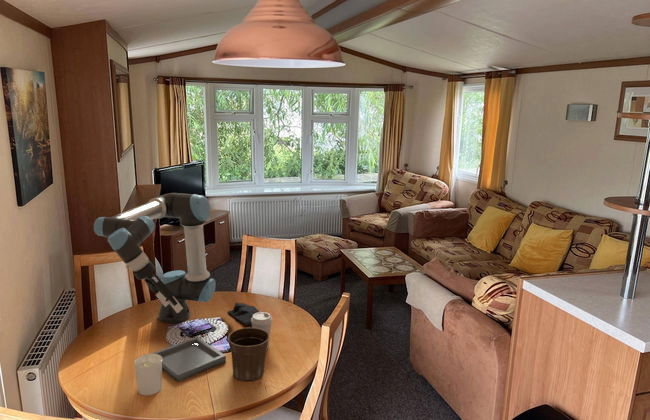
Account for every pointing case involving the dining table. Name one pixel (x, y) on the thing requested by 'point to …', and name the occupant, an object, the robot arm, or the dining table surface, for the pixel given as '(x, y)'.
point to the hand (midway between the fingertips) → (173, 307)
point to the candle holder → (149, 374)
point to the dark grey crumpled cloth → (243, 312)
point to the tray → (189, 358)
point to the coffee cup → (262, 322)
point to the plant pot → (248, 352)
